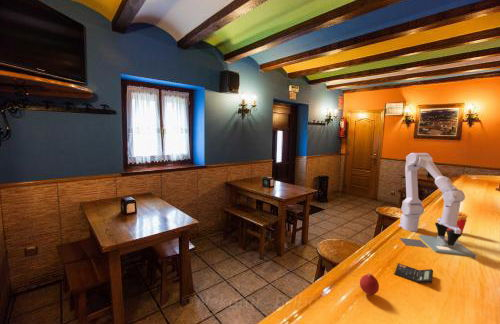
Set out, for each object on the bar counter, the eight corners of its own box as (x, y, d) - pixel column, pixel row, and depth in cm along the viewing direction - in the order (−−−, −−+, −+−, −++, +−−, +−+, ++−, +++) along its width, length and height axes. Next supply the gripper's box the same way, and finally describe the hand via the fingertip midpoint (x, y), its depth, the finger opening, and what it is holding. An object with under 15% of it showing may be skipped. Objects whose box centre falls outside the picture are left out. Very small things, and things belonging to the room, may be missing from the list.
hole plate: (418, 238, 126) (418, 234, 126) (452, 242, 123) (453, 238, 123) (435, 254, 111) (436, 249, 110) (475, 258, 108) (476, 254, 107)
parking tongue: (398, 239, 124) (398, 237, 124) (419, 241, 122) (420, 239, 122) (405, 247, 116) (405, 245, 116) (428, 249, 115) (428, 247, 115)
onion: (371, 288, 85) (374, 268, 84) (381, 300, 80) (384, 278, 78) (355, 288, 85) (358, 268, 84) (364, 300, 80) (366, 278, 78)
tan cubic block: (435, 244, 120) (437, 235, 119) (447, 246, 119) (448, 236, 118) (441, 249, 115) (443, 240, 114) (453, 251, 114) (455, 241, 113)
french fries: (444, 230, 138) (447, 210, 136) (446, 228, 140) (450, 209, 138) (463, 236, 131) (467, 215, 129) (465, 234, 133) (469, 213, 131)
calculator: (398, 264, 102) (398, 258, 101) (432, 276, 94) (433, 269, 94) (394, 275, 94) (395, 268, 94) (430, 288, 87) (432, 281, 87)
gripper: (432, 208, 122) (428, 233, 124) (450, 219, 108) (445, 247, 110) (448, 210, 121) (443, 235, 123) (468, 221, 107) (462, 249, 109)
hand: (445, 241), depth 116 cm, fingers open, 7 cm apart
